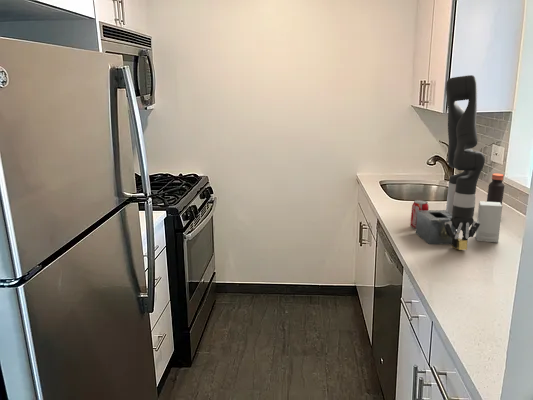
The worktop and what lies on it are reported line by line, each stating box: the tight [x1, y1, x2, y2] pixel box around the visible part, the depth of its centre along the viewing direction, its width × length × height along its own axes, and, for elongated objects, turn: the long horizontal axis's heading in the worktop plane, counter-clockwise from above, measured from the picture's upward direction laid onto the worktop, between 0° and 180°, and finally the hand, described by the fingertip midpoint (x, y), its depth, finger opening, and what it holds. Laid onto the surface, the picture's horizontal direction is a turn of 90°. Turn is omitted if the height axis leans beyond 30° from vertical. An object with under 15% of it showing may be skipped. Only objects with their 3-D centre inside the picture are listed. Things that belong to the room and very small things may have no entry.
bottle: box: [486, 173, 505, 206], centre depth 223 cm, size 7×7×20 cm
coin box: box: [415, 209, 460, 245], centre depth 191 cm, size 12×14×10 cm
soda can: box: [410, 199, 430, 230], centre depth 204 cm, size 7×7×12 cm
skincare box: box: [475, 200, 503, 243], centre depth 189 cm, size 8×7×16 cm
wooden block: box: [451, 237, 468, 251], centre depth 178 cm, size 3×6×4 cm, turn 4°
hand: (459, 247), depth 179 cm, fingers closed on wooden block, 2 cm apart
